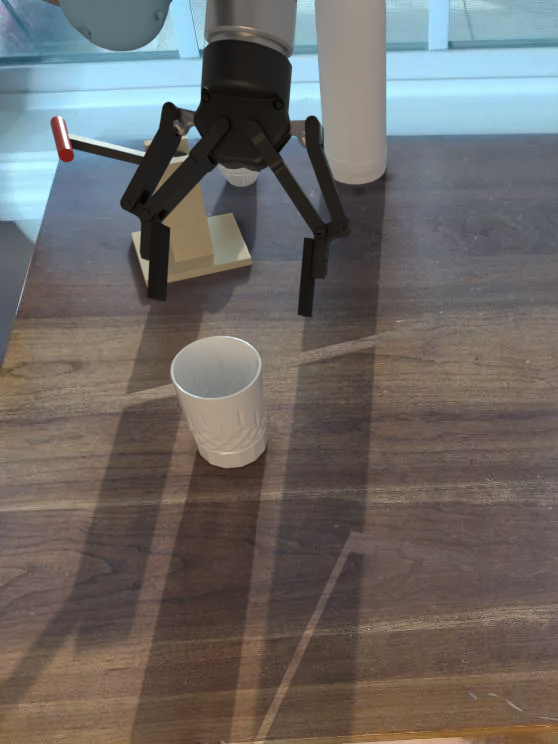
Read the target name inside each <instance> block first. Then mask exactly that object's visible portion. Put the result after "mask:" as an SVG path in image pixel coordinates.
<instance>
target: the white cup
mask: <svg viewBox="0 0 558 744" xmlns="http://www.w3.org/2000/svg"><path fill="white" fill-rule="evenodd" d="M169 374H170V378H171V382H172V384H173V387H174V390H175V393H176V395H177V398H178V401H179V404H180V407H181V410H182V413H183V415H184V418H185V420H186V424H187V426H188V428H189V430H190V433H191V435H192V436H193V438H194V440H195V442H196V446H197V450H198V452H199V455H200V457H202V458H203V459H204V460H205V461H206V462H208V463H209V464H210V465H212V466H216V467H219V468H223V469H234V468H242V467H245V466H247V465H249V464H251V463H253V462H255V461H257V460H258V459H259V457H260V456H261V455H262V454H263V453H264V452H265V451H266V448H267V444H268V440H269V433H268V427H267V426H268V425H267V414H268V413H267V406H266V405H267V402H266V401H267V400H266V393H265V392H266V391H265V383H264V375H263V365H262V359H261V356H260V354H259V352H258V350H257V349H256V348H255V347H254V346H252V345H251V344H250V343H248V342H247V341H245V340H242V339H240V338H237V337H233V336H227V335H215V336H209V337H208V336H207V337H204V338H201V339H200V338H199V339H197V340H195V341H193V342H190V343H189V344H187V345H186V346H184V347H183V348H182V349H181V350H179V352H177V354H176V355H175V357H174V358H173V360H172V362H171V364H170V373H169Z"/></svg>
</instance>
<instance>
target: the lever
mask: <svg viewBox="0 0 558 744" xmlns="http://www.w3.org/2000/svg"><path fill="white" fill-rule="evenodd" d="M49 122H50V128H51V131H52V132H51V133H52V136H53V140H54V144H55V149H56V152H57V156H58V159H59V160H60V161H61V162H63V163H70V162H71V163H72V161H73V160H74V158H75V153H74V150H75V151H79V152H83V153H87V154H92V155H96V156H100V157H104V158H109V159H113V160H116V161H121V162H124V163H125V162H126V163H130V164H134V165H138V166H139V164H140V163H141V161H142V159H143V157H144V155H145V153H146V151H142V150H137V149H133V148H130V147H126V146H121V145H117V144H113V143H110V142H106V141H102V140H97V139H93V138H90V137H86V136H81V135H77V134H73V133H70V132H69V131H68V126H67V123H66V119H64V118H63V117H62V116H59V115H55V116H53V117H51V119H50V121H49ZM186 155H187V154H186V153H182V152H178V151H176V152H175V154H174V156H173V158H175V157H181V156H186Z"/></svg>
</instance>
